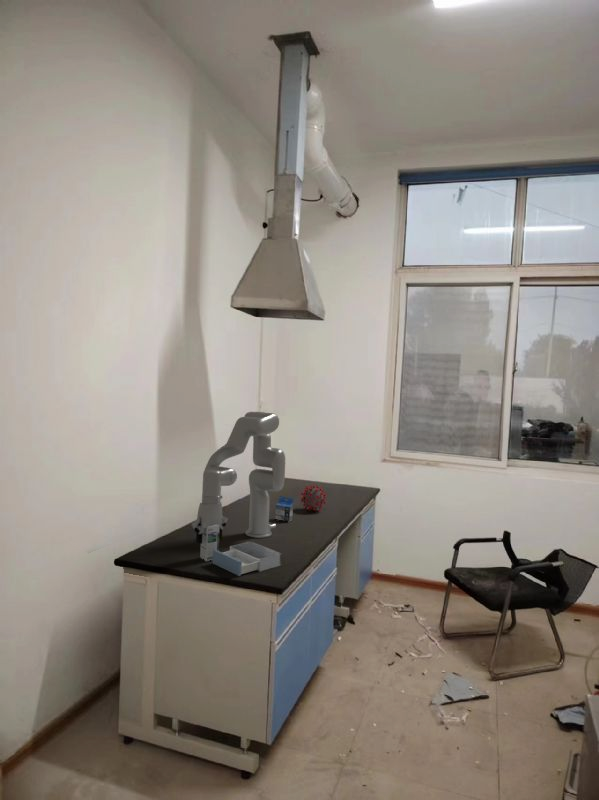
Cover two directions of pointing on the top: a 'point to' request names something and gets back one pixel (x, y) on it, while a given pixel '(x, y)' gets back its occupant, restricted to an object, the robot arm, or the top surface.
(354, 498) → the top surface
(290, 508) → the label tape cartridge
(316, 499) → the virus model
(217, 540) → the syrup box
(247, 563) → the tray
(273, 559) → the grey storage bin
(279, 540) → the top surface
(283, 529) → the top surface
